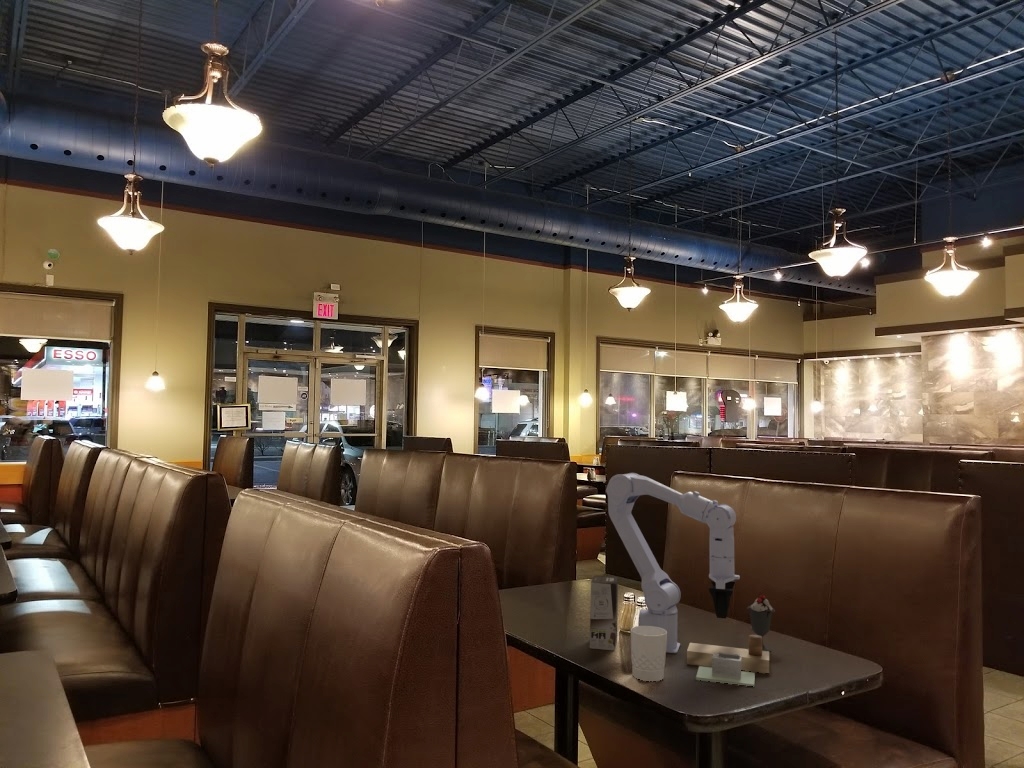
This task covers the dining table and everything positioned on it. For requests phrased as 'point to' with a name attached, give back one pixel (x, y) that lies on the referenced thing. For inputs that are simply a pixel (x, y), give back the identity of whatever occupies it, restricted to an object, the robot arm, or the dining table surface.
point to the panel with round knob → (750, 659)
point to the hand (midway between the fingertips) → (722, 614)
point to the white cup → (648, 652)
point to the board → (706, 675)
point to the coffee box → (604, 613)
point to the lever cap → (726, 665)
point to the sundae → (761, 617)
